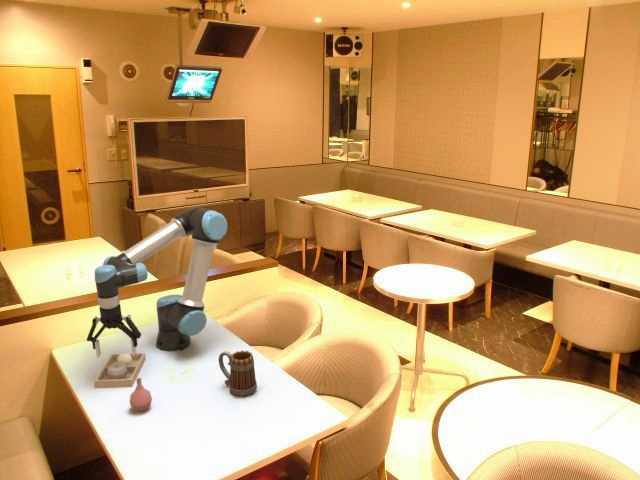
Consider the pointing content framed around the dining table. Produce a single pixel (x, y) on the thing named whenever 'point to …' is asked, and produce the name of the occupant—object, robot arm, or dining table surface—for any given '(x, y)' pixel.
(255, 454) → the dining table surface
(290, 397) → the dining table surface
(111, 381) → the wooden compartment tray
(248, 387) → the mug
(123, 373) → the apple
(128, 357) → the egg
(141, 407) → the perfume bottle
